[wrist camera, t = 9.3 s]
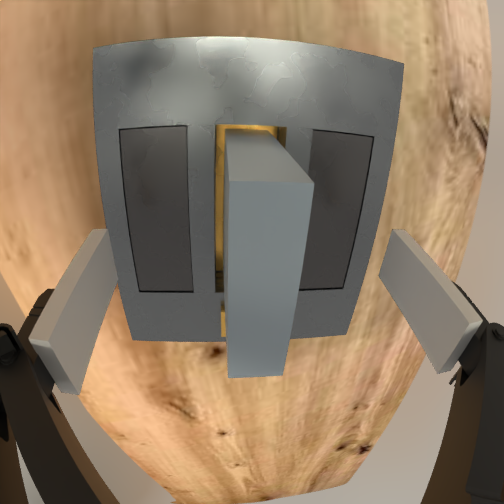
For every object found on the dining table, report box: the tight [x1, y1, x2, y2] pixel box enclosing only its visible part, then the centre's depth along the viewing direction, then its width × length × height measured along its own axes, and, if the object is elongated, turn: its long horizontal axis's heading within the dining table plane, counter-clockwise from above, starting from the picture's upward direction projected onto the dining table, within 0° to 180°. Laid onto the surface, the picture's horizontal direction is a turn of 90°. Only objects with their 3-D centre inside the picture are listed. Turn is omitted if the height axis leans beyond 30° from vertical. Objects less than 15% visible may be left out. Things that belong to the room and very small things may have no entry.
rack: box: [93, 37, 404, 342], centre depth 19 cm, size 20×18×4 cm
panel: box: [223, 129, 314, 378], centre depth 16 cm, size 9×2×10 cm, turn 177°
